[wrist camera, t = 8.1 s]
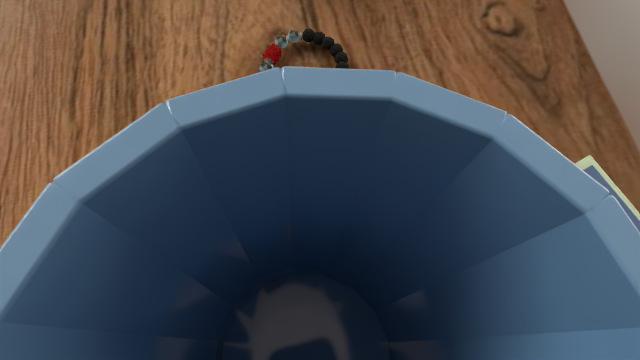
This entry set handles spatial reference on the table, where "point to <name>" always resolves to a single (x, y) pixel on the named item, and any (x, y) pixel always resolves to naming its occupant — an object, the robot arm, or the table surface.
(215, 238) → the blue hollow cylinder
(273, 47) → the bracelet
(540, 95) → the table surface
